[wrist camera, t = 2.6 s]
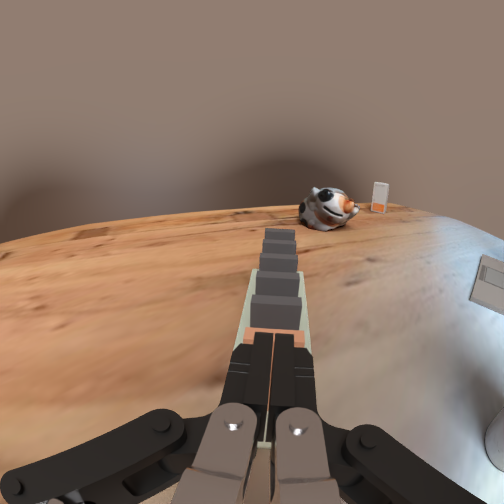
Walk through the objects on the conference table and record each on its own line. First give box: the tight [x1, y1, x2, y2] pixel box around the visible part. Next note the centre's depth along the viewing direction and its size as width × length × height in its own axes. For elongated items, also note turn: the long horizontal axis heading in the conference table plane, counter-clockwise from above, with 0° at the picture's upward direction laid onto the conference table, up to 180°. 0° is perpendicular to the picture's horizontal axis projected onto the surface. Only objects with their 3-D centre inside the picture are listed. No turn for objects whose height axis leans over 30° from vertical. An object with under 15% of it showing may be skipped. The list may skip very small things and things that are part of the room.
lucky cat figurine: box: [299, 187, 360, 231], centre depth 83 cm, size 17×14×16 cm
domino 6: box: [243, 327, 305, 411], centre depth 25 cm, size 2×5×10 cm, turn 84°
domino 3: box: [259, 253, 298, 273], centre depth 40 cm, size 2×5×10 cm, turn 84°
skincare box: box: [371, 182, 389, 214], centre depth 106 cm, size 6×4×12 cm
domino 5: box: [250, 294, 302, 330], centre depth 30 cm, size 2×5×10 cm, turn 84°
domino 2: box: [262, 239, 296, 255], centre depth 45 cm, size 2×5×10 cm, turn 84°
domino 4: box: [255, 271, 300, 297], centre depth 35 cm, size 2×5×10 cm, turn 84°
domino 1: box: [265, 228, 295, 241], centre depth 50 cm, size 2×5×10 cm, turn 84°
